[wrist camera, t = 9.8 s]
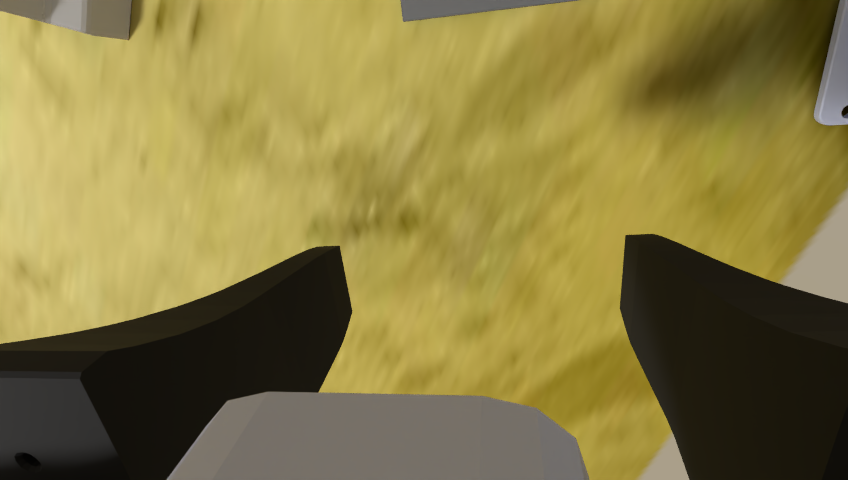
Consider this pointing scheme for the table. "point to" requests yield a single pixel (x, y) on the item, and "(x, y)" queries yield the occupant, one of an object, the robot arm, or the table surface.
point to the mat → (461, 7)
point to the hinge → (77, 14)
